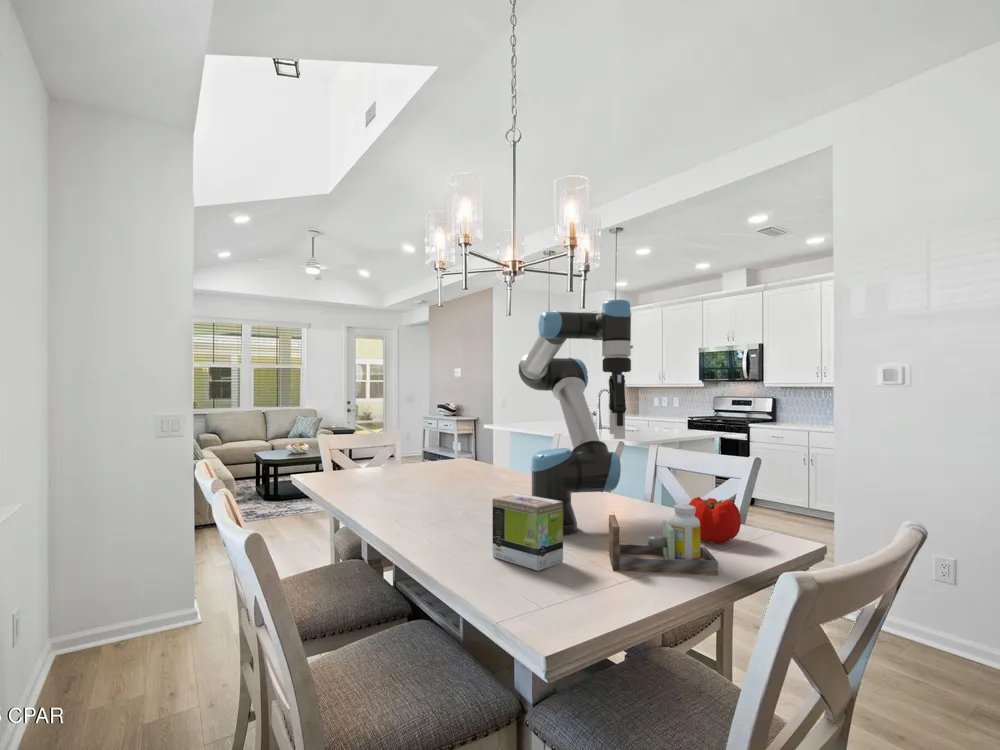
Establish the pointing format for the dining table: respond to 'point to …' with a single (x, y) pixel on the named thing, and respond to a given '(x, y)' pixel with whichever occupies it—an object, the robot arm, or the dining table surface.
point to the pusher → (665, 541)
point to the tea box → (528, 530)
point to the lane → (653, 557)
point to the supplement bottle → (686, 532)
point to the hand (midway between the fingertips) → (616, 436)
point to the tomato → (717, 519)
